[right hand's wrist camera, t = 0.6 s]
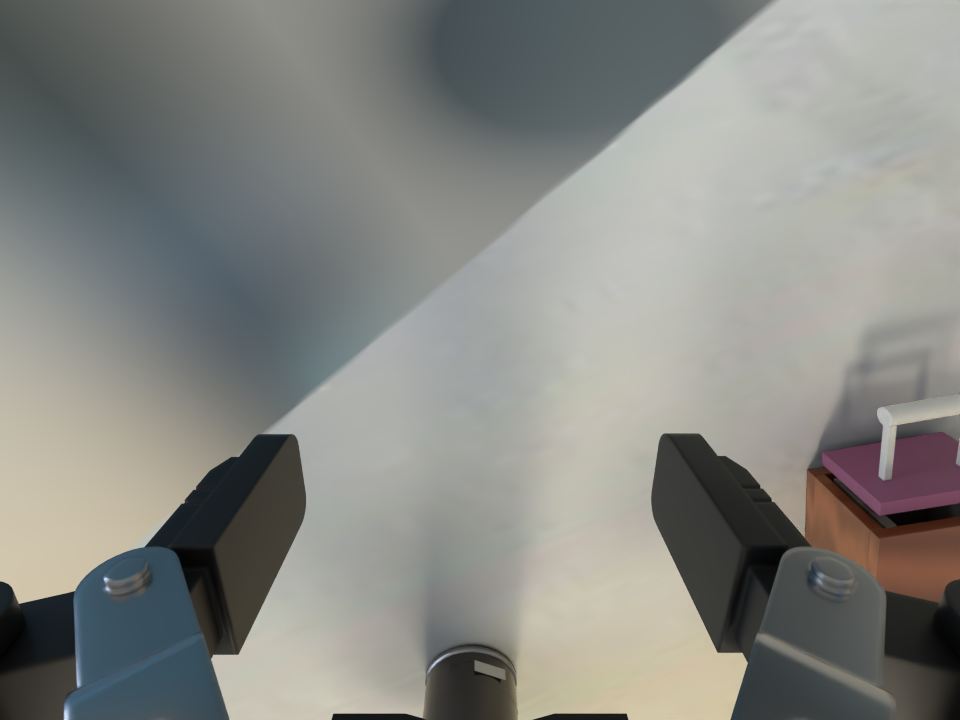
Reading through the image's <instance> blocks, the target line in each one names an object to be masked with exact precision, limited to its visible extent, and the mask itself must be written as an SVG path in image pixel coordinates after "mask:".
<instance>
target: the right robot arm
mask: <svg viewBox="0 0 960 720" xmlns="http://www.w3.org/2000/svg"><path fill="white" fill-rule="evenodd" d="M651 502H652V511H653V516H654V520H655V522H656V525H657V527H658V529H659V531H660V533H661V535H662V537H663V539H664V541H665V543H666V545H667V548H668V550H669V552H670V554H671V556H672V558H673V560H674V562H675V564H676V566H677V568H678V571H679V573H680V575H681V577H682V579H683V581H684V583H685V585H686V587H687V589H688V591H689V594H690V596H691V598H692V600H693V602H694V604H695V606H696V608H697V610H698V612H699V614H700V617H701V619H702V621H703V623H704V625H705V627H706V629H707V631H708V633H709V635H710V637H711V640H712V642H713V644H714V646H715V648H716V650H717V652H718V653H743V654H744V656H745V658H746V660H747V662H748V665H747V668H746V671H745V674H744V678H743V681H742V684H741V687H740V691H739V694H738V697H737V700H736V704H735V707H734V710H733V713H732V717H731V720H960V579H958V580H954V581H952V582H949V583H948V584H947V585H946V588H945V590H944V592H943V595H942V597H941V599H940V602H939V603H938V602H934V601H929V600H925V599H920V598H916V597H911V596H907V595H902V594H898V593H893V592H889V591H885V590H884V588H883V587H882V585H881V584H880V582H879V581H878V580H877V579H876V578H875V576H874V575H872V574H871V573H870V572H869V571H868V570H867V569H865V568H864V567H863V566H861V565H860V564H858V563H856V562H855V561H853V560H851V559H849V558H847V557H845V556H843V555H840V554H838V553H836V552H832V551H829V550H826V549H822V548H816V547H812V546H811V545H810V544H809V543H808V541H807V540H806V539H805V538H804V537H803V535H802V534H801V533H800V532H799V531H798V530H797V528H796V527H795V526H794V525H793V524H792V522H791V521H790V520H789V519H788V518H787V517H786V515H785V514H784V513H783V512H782V511H781V510H780V508H779V507H778V506H777V505H776V504H775V502H772V501H771V498H770V497H769V495H768V494H767V493H766V492H765V491H764V489H761V488H760V485H759V484H758V482H757V481H756V480H755V479H754V478H753V477H752V475H751V474H750V473H749V472H748V471H747V470H746V469H745V468H743V467H742V466H740V465H739V464H737V463H735V462H734V461H732V460H731V459H729V458H728V457H726V456H717V454H716V453H715V452H714V451H713V449H712V448H711V447H710V446H709V444H708V443H707V442H706V441H705V439H704V438H703V437H702V436H701V435H700V434H663V435H662V436H661V438H660V441H659V446H658V453H657V460H656V467H655V473H654V480H653V487H652V496H651ZM305 508H306V492H305V486H304V479H303V472H302V465H301V458H300V452H299V445H298V441H297V438H296V437H295V436H294V435H293V434H259V435H257V436H256V437H255V438H254V439H253V440H252V441H251V443H250V444H249V445H248V446H247V448H246V449H245V450H244V451H243V453H242V454H241V455H240V456H239V457H231V458H229V459H228V460H226V461H224V462H223V463H221V464H220V465H218V466H217V467H215V468H213V469H212V470H210V471H209V472H208V474H207V475H206V476H205V477H204V478H203V479H202V481H201V482H200V483H199V484H198V485H197V486H196V490H193V491H192V492H191V493H190V495H189V496H188V497H187V498H186V499H185V503H184V504H181V505H180V506H179V508H178V509H177V510H176V511H175V512H174V513H173V515H172V516H171V517H170V518H169V519H168V520H167V522H166V523H165V524H164V525H163V526H162V527H161V529H160V530H159V531H158V532H157V533H156V534H155V536H154V537H153V538H152V539H151V540H150V541H149V543H148V544H147V545H146V546H145V547H144V548H138V549H134V550H131V551H128V552H124V553H122V554H120V555H117V556H115V557H113V558H111V559H109V560H107V561H105V562H104V563H102V564H100V565H99V566H98V567H96V568H95V569H93V570H92V571H91V572H90V573H89V574H88V575H86V576H85V578H84V579H83V580H82V581H81V582H80V584H79V585H78V587H77V588H76V591H74V592H70V593H66V594H61V595H57V596H52V597H48V598H43V599H39V600H35V601H30V602H26V603H21V604H19V603H18V601H17V599H16V596H15V594H14V592H13V589H12V587H11V586H10V585H9V584H7V583H4V582H0V720H229V717H228V713H227V710H226V707H225V704H224V700H223V697H222V694H221V691H220V687H219V684H218V681H217V678H216V674H215V671H214V668H213V665H212V661H211V658H212V656H213V655H238V654H239V652H240V650H241V648H242V646H243V644H244V642H245V640H246V638H247V636H248V634H249V632H250V630H251V627H252V625H253V623H254V621H255V619H256V617H257V615H258V613H259V611H260V609H261V607H262V605H263V603H264V601H265V599H266V597H267V594H268V592H269V590H270V588H271V586H272V584H273V582H274V580H275V578H276V576H277V574H278V572H279V570H280V568H281V566H282V563H283V561H284V559H285V557H286V555H287V553H288V551H289V549H290V547H291V545H292V543H293V541H294V539H295V537H296V535H297V532H298V530H299V528H300V526H301V524H302V522H303V519H304V514H305ZM516 684H517V683H516V672H515V669H514V667H513V665H512V664H511V662H510V661H509V660H508V659H507V658H506V657H505V656H503V655H502V654H500V653H499V652H497V651H495V650H492V649H489V648H486V647H481V646H461V647H456V648H453V649H450V650H447V651H445V652H443V653H441V654H440V655H438V656H437V657H436V658H435V659H434V660H433V661H432V662H431V664H430V665H429V667H428V670H427V674H426V692H425V702H424V711H423V718H419V717H415V716H412V715H408V714H333V717H332V720H518V712H517V697H516ZM534 720H628V717H627V714H552V715H548V716H545V717H541V718H537V719H534Z"/></svg>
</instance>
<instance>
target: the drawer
mask: <svg viewBox="0 0 960 720" xmlns="http://www.w3.org/2000/svg"><path fill="white" fill-rule="evenodd" d="M959 414H960V393H958V394H952V395H947V396H941V397H935V398H929V399H924V400H918V401H912V402H906V403H901V404H895V405H889V406H883V407H880V408H879V409H878V411H877V416H878V419H879V421H880V422H881V424H882V425H883V432H882V442H880V443H874V444H868V445H862V446H856V447H850V448H844V449H838V450H832V451H826V452H822V464H823V465H824V466H825V467H826V468H827V469H828V470H829V471H830V472H831V473H833V474H834V475H835V476H836V477H837V478H835V479H834V480H833V483H834V484H835V485H836V486H838V487H839V488H840V489H841V490H842V491H843V492H844V493H845V494H846V495H847V496H848V497H849V498H850V499H852V500H853V501H854V502H855V503H856V504H857V505H858V506H859V507H860V508H861V509H862V510H863V511H864V512H866V513H867V514H868V515H869V516H870V517H871V518H872V519H873V520H874V521H875V522H876V523H877V524H878V525H880V526H881V527H882V529H883V528H889V527H896V526H902V525H908V524H915V523H921V522H928V521H934V520H940V519H947V518H953V517H959V516H960V439H959V442H958V441H957V440H955V439H953V438H952V437H950V436H948V435H947V434H945V433H943V432H939V433H933V434H927V435H921V436H915V437H909V438H903V439H897V440H896V431H897V425H900V424H906V423H912V422H918V421H924V420H930V419H936V418H942V417H947V416H953V415H959Z"/></svg>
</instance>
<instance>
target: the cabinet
mask: <svg viewBox="0 0 960 720" xmlns="http://www.w3.org/2000/svg"><path fill="white" fill-rule="evenodd" d="M835 478H837V477H836V476H835V475H834V474H833V473H831V472H830V471H829V470H828V469H827V468H826V467H824V468H818V469H812V470H809V469H808V470H807V495H806V526H805V539H806V540H807V541H808V543H809V544H810V545H811V546H812V547H816V548H822V549H826V550H829V551H832V552H836V553H838V554H840V555H843V556H845V557H847V558H849V559H851V560H853V561H855V562H856V563H858V564H860V565H861V566H863V567H864V568H865V569H867V570H868V571H869V572H870V573H871V574H872V575H874V576H875V578H876V579H877V580H878V581H879V582H880V584H881V585H882V587H883V588H884V590H885V591H889V592H893V593H898V594H902V595H907V596H911V597H916V598H920V599H925V600H929V601H934V602H938V603H939V602H940V599H941V597H942V595H943V592H944V590H945V588H946V585H947V584H948V583H949V582H952V581H954V580H958V579H960V516H959V517H953V518H947V519H940V520H934V521H928V522H921V523H915V524H908V525H902V526H896V527H889V528H883V529H882V527H881V526H880V525H878V524H877V523H876V522H875V521H874V520H873V519H872V518H871V517H870V516H869V515H868V514H867V513H866V512H864V511H863V510H862V509H861V508H860V507H859V506H858V505H857V504H856V503H855V502H854V501H853V500H852V499H850V498H849V497H848V496H847V495H846V494H845V493H844V492H843V491H842V490H841V489H840V488H839V487H838V486H836V485H835V484H834V483H833V480H834V479H835Z"/></svg>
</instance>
